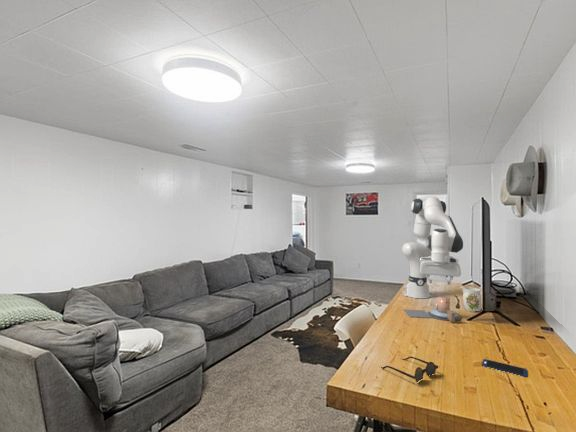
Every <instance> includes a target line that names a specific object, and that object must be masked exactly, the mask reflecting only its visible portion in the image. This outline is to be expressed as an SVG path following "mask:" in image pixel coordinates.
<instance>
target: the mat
mask: <svg viewBox="0 0 576 432" xmlns="http://www.w3.org/2000/svg"><path fill="white" fill-rule="evenodd" d="M402 310H403V312H405V313H406V315H408V316H409V318H420V319H433V318H432V317H431V316H429V315H428V312H427V311H425V310H421V309H402Z"/></svg>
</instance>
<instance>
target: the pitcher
mask: <svg viewBox="0 0 576 432" xmlns="http://www.w3.org/2000/svg"><path fill="white" fill-rule="evenodd" d="M458 288H460V289H461V291H462V293H463V295H462V303H463V307H464V309H466V311H468V310H469V311H468V312H471V311H479V312H480V311H481V310H482V309H481V295H480V289H481V288H478V287H470V286H462V285H459V286H458Z"/></svg>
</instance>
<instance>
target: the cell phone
mask: <svg viewBox="0 0 576 432" xmlns="http://www.w3.org/2000/svg"><path fill="white" fill-rule="evenodd" d="M483 366H485V367H484V368H487V367H490V368H489V369H491V368H494V369H493V370H495V369H497V370H496V371H498V370H501V371H500V372H502V371H505V372H504V373H506V372H509V373H508V374H510V373H513V374H512V375H514V374H516V375H515V376H518V375H520V376H519V377H522V376H523V378H528V377H527V376H528V369H526V368H524V367H520V366H516V365H513V364H512V365H511V364H507V363H503V362H499V361H496V360H495V361H494V360H491V359H487V358H484V359H482V363H481V367H483Z"/></svg>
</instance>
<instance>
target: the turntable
mask: <svg viewBox="0 0 576 432" xmlns="http://www.w3.org/2000/svg"><path fill="white" fill-rule="evenodd" d="M429 312H430V313H431V314H432V315H434V316H437V317H441V318H447V319H449V320H450V321H449V322H451V323H454V322H455V323H456V321H455V318H457V317H458V316H459V314H458V312H456V311H454V310H451V309H450V310H447V314H444V313H440V312H438V303H437V302H436V303H435V308H432V309H431V308H430V311H429Z"/></svg>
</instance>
